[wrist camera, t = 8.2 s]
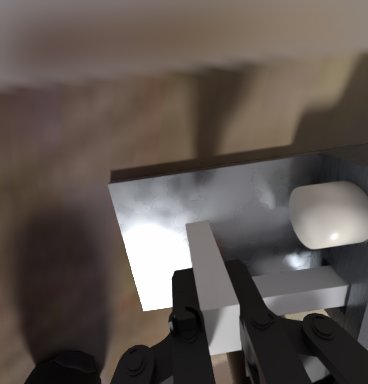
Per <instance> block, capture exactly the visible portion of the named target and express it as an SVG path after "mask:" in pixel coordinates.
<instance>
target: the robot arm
mask: <svg viewBox="0 0 368 384" xmlns="http://www.w3.org/2000/svg"><path fill="white" fill-rule="evenodd" d="M185 226H186V232H187V239H188V246H189V252H190V259H191V264H192V268H186V269H180V270H175V271H174V273H173V275H172V277H171V287H172V313H171V314H170V316H169V321H168V323H169V327H170V333H169V334H168V336H167V337H166V338H165V339H164V340H162V341H161V342H160V343H158V344H156V345H154V346H152V347H150V348H149V347H148V346H145V345H135V346H133V347H131V348H129V349H128V350H127V351H126V352H125V353H124V354H123V355H122V357H121V359H120V360H119V362H118V365H117V367H116V370H115V372H114V375H113V378H112V380H111V383H110V384H216V383H215V378H214V373H213V368H212V362H211V357H210V355H216V354H221V353H227V352H232V351H238V350H242V347H243V350H244V353H245V366H246V376H250V379H251V383H252V384H368V350H367V349H366V348H364V347H363V346H362V345H361V344H360V343H359V342H358V341H357V340H356V339H355V338H353V337H352V336H351V335H350V334H349V333H348V332H347V331H346V330H345V329H344V328H342V327H341V326H340V325H339V324H338V323H337V322H336V321H334V320H333V319H331V318H330V317H328V316H325V315H323V314H318V313H312V314H308V315H307V316H305V317H304V319H303V321H299V320H292V319H286V318H282V317H280V316H277V315H276V314H274V312H272V311H271V310H270V309H268V307H267V306H266V304H265V302H264V300H263V298H262V296H261V294H260V292H259V290H258V288H257V286H256V285H255V283H254V281H253V279H252V277H251V275H250V273H249V271H248V269H247V267H246V265H245V264H244V263H243V262H241V261H240V260H239V259H236V260H230V261H224V262H223V260H222V257H221V254H220V252H219V249H218V247H217V244H216V241H215V239H214V236H213V233H212V231H211V228H210V225H209V223H208V220H204V221H198V222H192V223H186V224H185ZM241 344H242V347H241Z"/></svg>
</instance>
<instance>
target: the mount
mask: <svg viewBox="0 0 368 384" xmlns="http://www.w3.org/2000/svg"><path fill="white" fill-rule="evenodd" d="M335 181H349V182H352V183H354V184H356V185H357V186H359V187H360V188H361V189H362V190H363V191H364V192H365V194H366V195H367V196H368V144H361V145H355V146H348V147H341V148H334V149H327V150H320V151H313V152H306V153H299V154H293V155H286V156H279V157H272V158H265V159H258V160H251V161H244V162H238V163H231V164H224V165H217V166H210V167H203V168H196V169H189V170H182V171H176V172H169V173H162V174H155V175H148V176H141V177H134V178H127V179H121V180H114V181H110V182H109V183H108V188H109V191H110V195H111V198H112V201H113V205H114V208H115V212H116V215H117V219H118V222H119V226H120V229H121V233H122V236H123V240H124V243H125V247H126V250H127V254H128V257H129V260H130V264H131V267H132V271H133V274H134V278H135V281H136V285H137V288H138V292H139V295H140V299H141V302H142V306H143V309H144V311H146V310H153V309H159V308H166V307H172V287H171V277H172V275H173V273H174V271H175V270H180V269H186V268H192V264H191V259H190V252H189V246H188V239H187V232H186V226H185V224H186V223H192V222H198V221H204V220H208V223H209V225H210V228H211V231H212V233H213V236H214V239H215V241H216V244H217V247H218V249H219V252H220V254H221V257H222V260H223V262H224V261H230V260H236V259H239V260H240V261H241V262H243V263H244V264H245V265H246V267H247V269H248V271H249V273H250V275H251V277H254V276H261V275H267V274H274V273H281V272H288V271H294V270H301V269H308V268H315V267H322V266H328V265H331V266H332V267H333V268H334V269H335V270H336V271H337V272H338V273H339V274H340V275H341V276H342V277H343V278H344V279H345V280H346V281H347V282H348V283H349V284H350V285H351V286H352V287H351V291H350V296H349V300H348V305H346V306H340V307H333V308H326V309H324V310H325V311H326V312H327V314H328V315H329V316H330V318H331V319H333V320H334V321H336V322H337V323H338V324H339V325H340V326H341V327H342V328H344V329H345V330H346V331H347V332H348V333H349V334H350V335H351V336H352V337H353V338H355V339H356V340H357V341H358V342H359V343H360V344H361V345H362V346H363V347H364V348H368V239H367V240H365V241H364V242H360V243H354V244H347V245H340V246H333V247H326V248H320V249H310V248H308V247H306V246H305V245H304V244H303V243H302V242H301V241H300V240H299V238H298V237H297V235H296V233H295V231H294V229H293V226H292V223H291V220H290V214H289V200H290V196H291V193H292V192H293V190H294V189H295V188H297V187H301V186H308V185H315V184H322V183H329V182H335Z"/></svg>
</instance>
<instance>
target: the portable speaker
mask: <svg viewBox="0 0 368 384" xmlns="http://www.w3.org/2000/svg"><path fill="white" fill-rule="evenodd" d="M24 384H101V378H100V377H99V374H98V372H97V369H96V366H95V363H94V359H93V356H90V355H87V354H84V353H81V352H72V351H64V352H62V353H61V354H60V355H59V356H58V357H56V358H55V359H53V360H50V361H48V362H46V363H39V364H37V365H36V367H35V368H34V369H33V371H32V372H31V374H30V375H29V377H28V378H27V380H26V381H25V383H24Z"/></svg>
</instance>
